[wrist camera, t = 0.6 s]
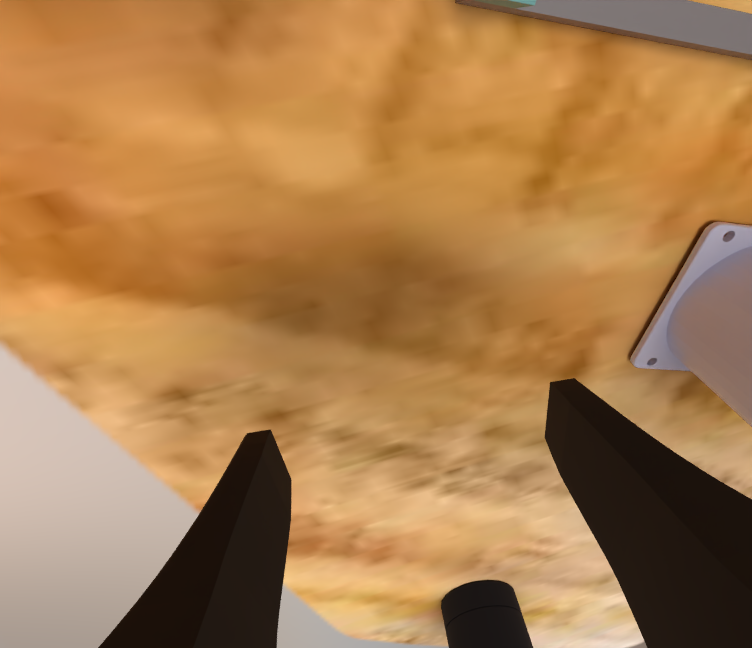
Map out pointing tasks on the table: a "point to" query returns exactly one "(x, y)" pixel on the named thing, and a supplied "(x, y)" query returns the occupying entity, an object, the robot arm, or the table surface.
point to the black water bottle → (484, 617)
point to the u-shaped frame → (644, 20)
